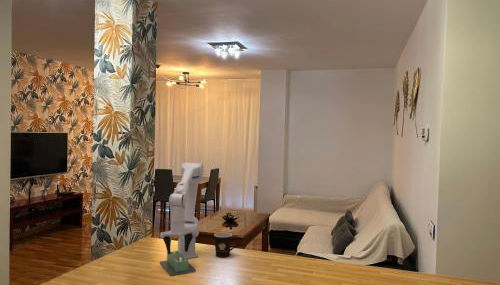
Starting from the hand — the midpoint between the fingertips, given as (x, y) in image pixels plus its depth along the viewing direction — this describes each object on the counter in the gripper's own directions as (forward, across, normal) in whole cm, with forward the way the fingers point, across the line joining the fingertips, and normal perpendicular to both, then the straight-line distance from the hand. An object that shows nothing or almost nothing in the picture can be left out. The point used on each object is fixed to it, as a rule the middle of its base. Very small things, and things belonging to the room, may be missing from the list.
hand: (177, 252), depth 169 cm
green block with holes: (+6, 0, 0) cm, 6 cm away
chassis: (+7, 0, 0) cm, 7 cm away
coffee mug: (+7, +25, +5) cm, 26 cm away
